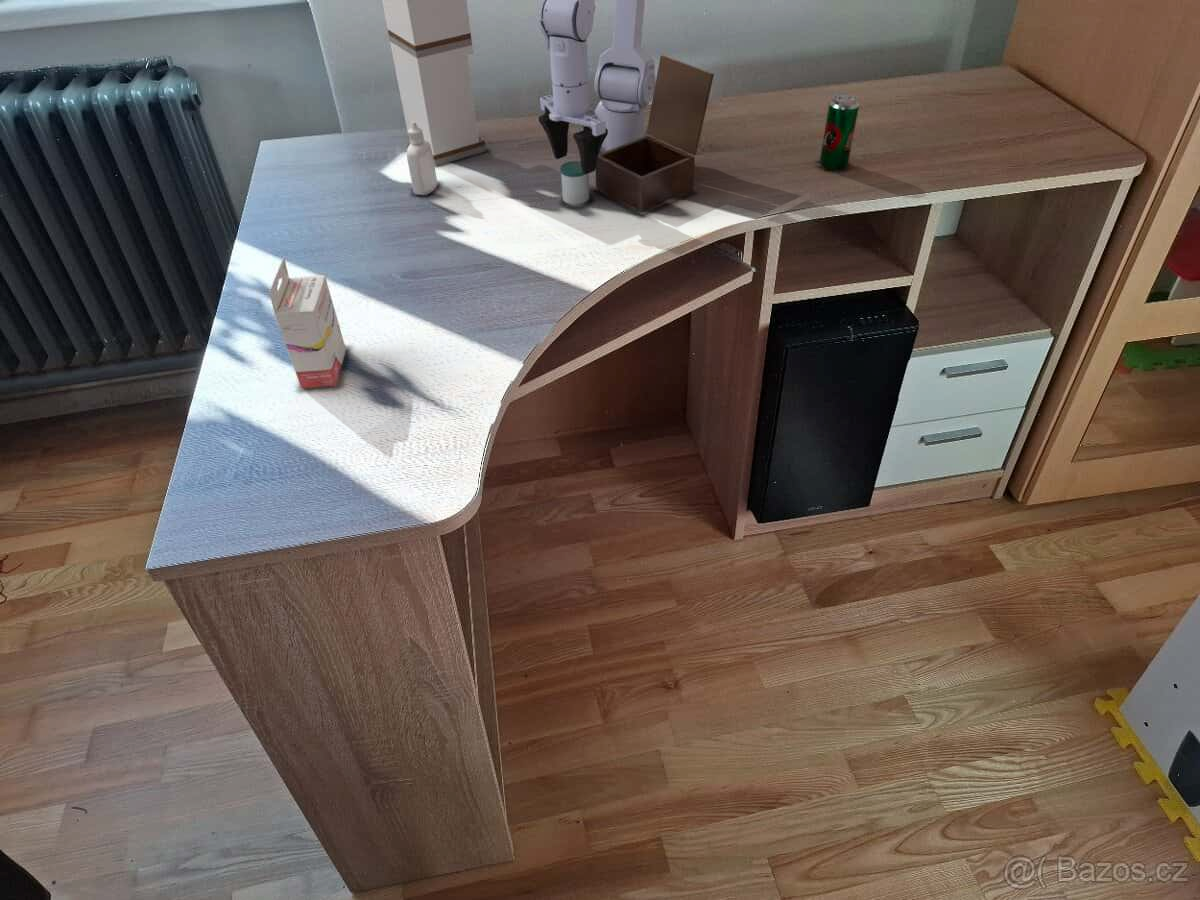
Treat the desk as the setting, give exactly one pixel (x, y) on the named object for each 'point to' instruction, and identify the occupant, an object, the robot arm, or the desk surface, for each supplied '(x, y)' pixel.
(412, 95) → the brown banded pillar
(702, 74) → the box lid
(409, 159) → the eye dropper bottle
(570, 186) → the container
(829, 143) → the soda can
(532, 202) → the desk surface
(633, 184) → the box
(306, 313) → the ink cartridge box
